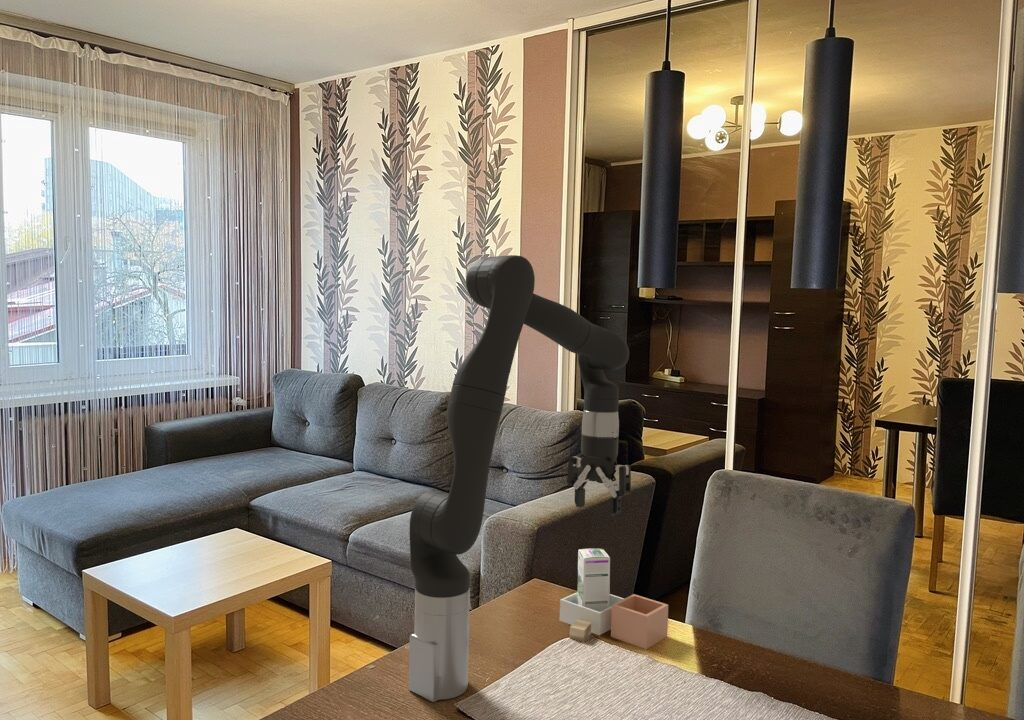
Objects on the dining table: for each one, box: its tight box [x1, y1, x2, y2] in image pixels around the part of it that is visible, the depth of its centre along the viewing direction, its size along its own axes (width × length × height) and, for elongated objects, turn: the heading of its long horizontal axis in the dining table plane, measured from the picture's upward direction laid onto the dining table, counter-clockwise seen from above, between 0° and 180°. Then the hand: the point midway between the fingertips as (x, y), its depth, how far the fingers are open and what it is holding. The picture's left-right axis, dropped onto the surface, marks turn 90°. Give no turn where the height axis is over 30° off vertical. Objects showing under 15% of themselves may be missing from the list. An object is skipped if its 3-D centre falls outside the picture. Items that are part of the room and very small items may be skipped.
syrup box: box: [576, 547, 611, 612], centre depth 153 cm, size 6×6×14 cm
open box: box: [610, 593, 669, 650], centre depth 146 cm, size 8×8×7 cm
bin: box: [558, 591, 625, 636], centre depth 154 cm, size 10×10×5 cm
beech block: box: [569, 620, 592, 642], centre depth 146 cm, size 4×3×3 cm
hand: (597, 510), depth 152 cm, fingers open, 8 cm apart
